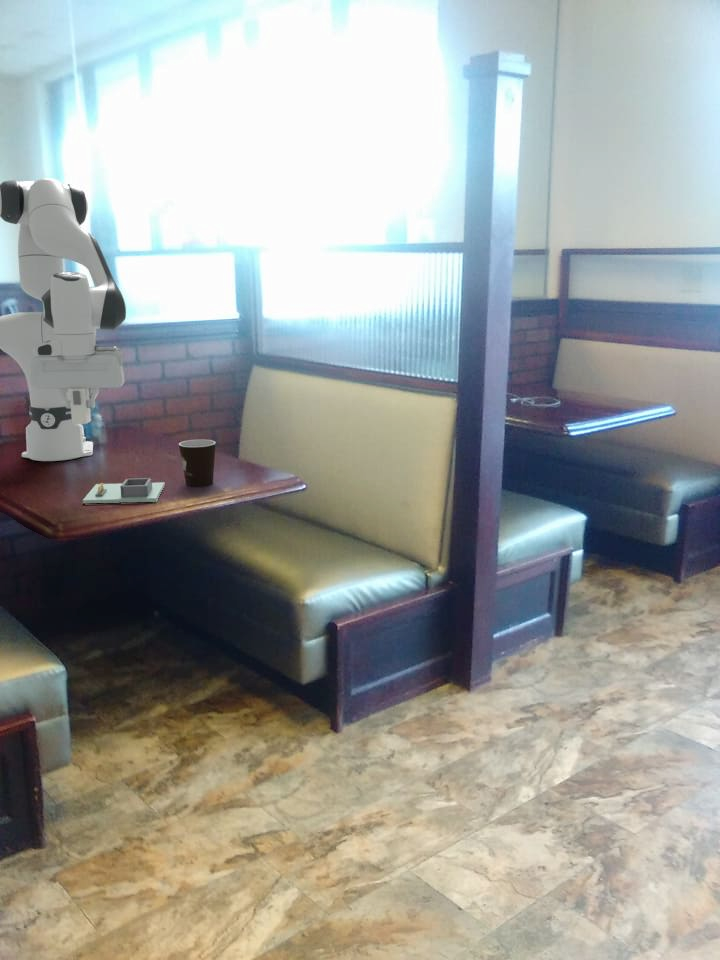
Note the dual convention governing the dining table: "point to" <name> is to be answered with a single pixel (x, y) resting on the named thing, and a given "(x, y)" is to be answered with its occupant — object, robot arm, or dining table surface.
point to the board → (126, 491)
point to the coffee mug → (198, 462)
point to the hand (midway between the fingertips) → (80, 407)
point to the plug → (79, 405)
